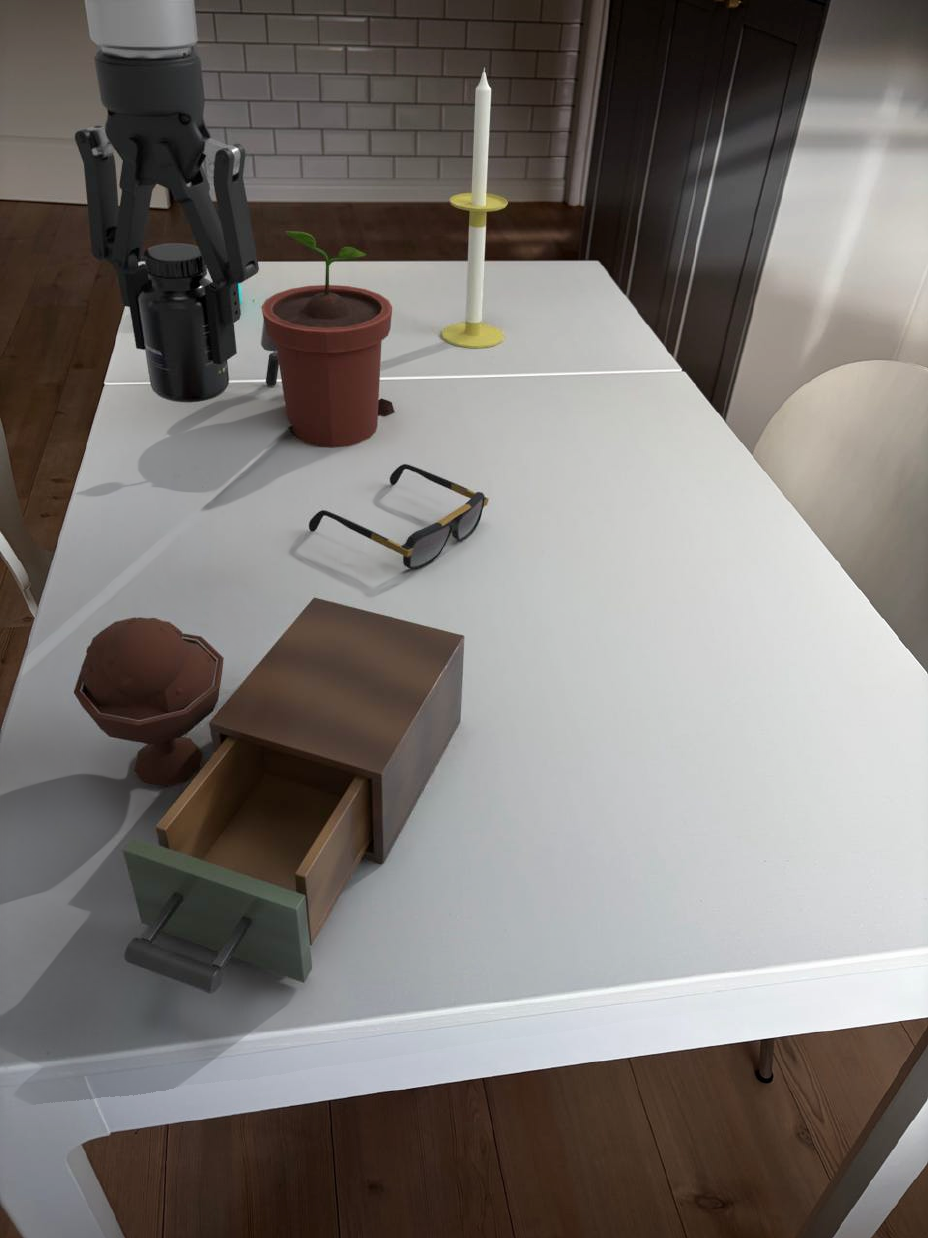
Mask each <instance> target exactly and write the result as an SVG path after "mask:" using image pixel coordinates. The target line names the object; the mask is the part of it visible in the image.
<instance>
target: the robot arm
mask: <svg viewBox="0 0 928 1238" xmlns="http://www.w3.org/2000/svg"><path fill="white" fill-rule="evenodd" d="M84 6H85V12H86V18H87V26H88V32H89V39H90V40H91V41H92V42H93V43H94V44H95V45H97V46H99V47H100V48H101V49H100V50H98V51H97V52H96V55H95V56H94V57H93V59H94V67H95V71H96V78H97V85H98V90H99V96H100V101H101V104H102V105H103V107H104V108H105V109H106V111H107V117H106V121H105V124H104V126H102V125H97V124H96V125H94V126H91V127H88V128H84V129H80V130H78V131H76V132H75V133H74V140H75V143H76V147H77V150H78V152H79V154H80V158H81V160H82V163H83V171H84V182H85V194H86V205H87V215H88V226H89V228H88V229H89V237H90V249H91V254H92V255H93V257H94V258H95V259H96V260H99V261H102V260H105V261H106V262H109V263H110V264H111V265H112V267H113V268H114V269H115V271H116V273H117V280H118V281H117V282H118V285H119V292H120V299H121V301H122V304H123V305H124V307H128V308H129V312H130V317H131V325H132V331H133V338H134V342H135V347H136V349H137V350H142V351H145V345H144V338H143V332H142V325H141V318H140V312H139V305H138V294H139V291H140V289H141V287H142V286H143V285H144V284H145V283H146V282H148V281H149V280H150V279H149V278H147V276H146V271H145V269H146V265H145V263H141V264H140V265H139V263H140V262H142V261H145V258H144V253H143V251H144V250H143V249H144V243H145V242H144V241H145V237H146V231H147V225H148V220H149V214H150V207H151V201H152V195H153V191H154V189H155V188H156V186H157V185H159V186H161V187H164V188H165V189H169V190H170V192H171V195H172V197H173V199H174V200H175V202H176V203H178V204H180V206H181V208H182V211H183V214H184V216H185V219H186V221H187V223H188V225H189V228H190V230H191V233H192V236H193V238H194V240H195V243H196V246H197V247H198V248H199V250H200V252H201V255H202V257H203V260H204V262H205V265H206V267H207V273H208V274H209V276H210V277H209V278H210V279H211V282H212V283H210V284H208V285H207V286H205V287H204V289H205V298H206V307H207V315H208V324H209V332H210V341H211V349H212V358H213V363H215V364H220V365H221V364H222V363H224V362H225V361H227V362H228V360H229V359H231V358H232V357H234V356H235V355H237V354H238V352H237V351H238V350H237V341H236V331H235V330H236V329H235V323H236V322H238V321H240V318H241V316H242V312H241V311H242V310H241V304H240V303H239V302H240V300H239V289H238V283H243V282H245V281H247V280H249V279H250V278H252V277H253V276H255V275H257V274H258V273H259V271H260V266H259V260H258V254H257V249H256V243H255V237H254V231H253V227H252V226H253V225H252V221H251V215H250V209H249V204H248V199H247V192H246V186H245V181H244V171H245V164H246V163H245V161H246V150H245V148H244V146H243V144H240V143H233V144H230V145H228V144H226V143H224V142H222V141H219V140H216V139H214V138H212V134H211V133H210V131H209V129H208V126H207V125H206V122H205V119H204V112H205V111H204V110H205V102H206V98H205V89H204V81H203V80H204V79H203V71H202V61H201V57H200V56H199V55H198V53H197V52H196V51H194V50H192V48H191V47H194V46H195V45H196V44H197V43H198V41H199V37H198V36H199V35H198V27H197V17H196V6H195V0H84ZM114 152H116V153H117V155H118V156H119V158H120V159H121V160H122V163H121V168H120V169H121V170H120V177H119V182H118V180H117V166H116V159H115V155H114ZM206 158H207V159H208V162H209V164H208V171H210V172H211V173H213V176H212V177H213V178H212V179H213V188H214V195H215V200H216V205H217V209H216V207H215V205H214V203H213V200H212V198H211V195H210V190H211V186H210V182H209V180H208V177H207V174H206V173H205V169H204V167H203V163H204V161H205V160H206ZM118 183H119V184H118ZM188 184H191V185H189V186H188ZM118 187H119V189H120V190H121V195H120V202H119V195H118V193H119V192H118ZM217 210H218V212H217Z"/></svg>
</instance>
